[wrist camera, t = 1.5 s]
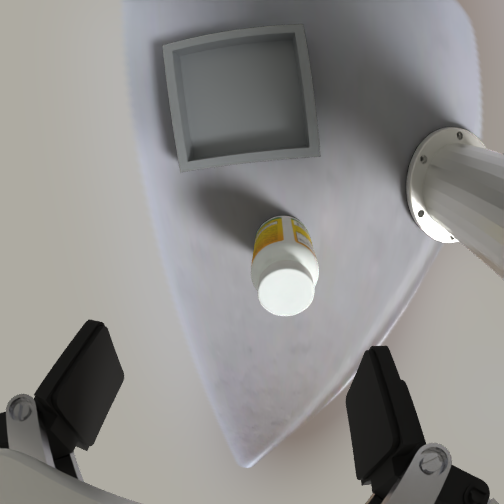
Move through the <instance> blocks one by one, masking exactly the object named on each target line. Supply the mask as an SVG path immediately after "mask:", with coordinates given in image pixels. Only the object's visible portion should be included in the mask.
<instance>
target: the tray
mask: <svg viewBox="0 0 504 504" xmlns="http://www.w3.org/2000/svg"><path fill="white" fill-rule="evenodd" d="M162 47H163V56H164V65H165V74H166V82H167V90H168V97H169V105H170V112H171V119H172V125H173V132H174V138H175V144H176V150H177V156H178V162H179V168H180V173H181V172H187V171H193V170H199V169H206V168H213V167H220V166H227V165H235V164H243V163H251V162H261V161H270V160H281V159H293V158H306V157H320V146H319V135H318V125H317V115H316V106H315V98H314V90H313V82H312V75H311V68H310V61H309V55H308V49H307V43H306V37H305V31H304V26H303V24H291V25H274V26H262V27H253V28H245V29H237V30H230V31H224V32H218V33H213V34H208V35H203V36H198V37H193V38H189V39H185V40H181V41H177V42H173V43H169V44H166V45H162Z"/></svg>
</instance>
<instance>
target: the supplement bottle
mask: <svg viewBox="0 0 504 504" xmlns="http://www.w3.org/2000/svg"><path fill="white" fill-rule="evenodd" d="M318 276H319V267H318V262H317V259H316V255H315V252H314V249H313V245H312V242H311V239H310V235H309V233H308V231H307V229H306V227H305V226H304V225H303V224H302V223H301V222H300V221H299V220H297V219H295V218H293V217H290V216H276V217H273V218H271V219H269V220H267V221H266V222H265V223H263V224H262V225H261V227H260V228H259V230H258V231H257V234H256V238H255V244H254V251H253V259H252V265H251V279H252V282H253V285H254V287H255V288H256V290H257V291H258V298H259V301H260V303H261V305H262V306H263V307H264V308H265V309H266V310H267V311H269V312H270V313H272V314H275V315H279V316H292V315H295V314H298V313H300V312H302V311H303V310H305V309H306V308H307V307H308V306H309V305H310V303H311V302H312V300H313V297H314V287H315V285H316V283H317V280H318Z"/></svg>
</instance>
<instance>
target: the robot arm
mask: <svg viewBox="0 0 504 504" xmlns="http://www.w3.org/2000/svg"><path fill="white" fill-rule="evenodd" d="M420 157H421V160H420ZM406 193H407V202H408V205H409V209H410V212H411V215H412V217H413V219H414V221H415V222H416V224H417V225H418V226H419V228H420V229H421V230H422V231H423V232H425V233H426V234H427V235H428V236H430V237H431V238H433V239H434V240H437V241H439V242H444V243H453V242H458V241H459V242H460V243H461V244H462V245H464V246H465V247H466V248H467V249H469V250H470V251H471V252H472V253H473V254H475V255H476V256H477V257H478V258H479V259H481V260H482V261H483V262H484V263H485V264H486V265H487V266H489V267H490V268H491V269H492V270H493V271H494V272H495V273H496V274H497V275H498V276H500V277H501V278H502V279H503V280H504V154H503V153H500V152H496V151H493V150H489V149H487V148H486V146H485V145H484V144H483V143H482V141H481V140H480V139H479V138H478V137H477V136H475V135H474V134H473V133H471V132H469V131H467V130H465V129H461V128H454V127H447V128H441V129H439V130H436V131H434V132H432V133H431V134H430V135H428V136H427V137H426V138H425V139H424V140H423V141H422V142H421V144H420V145H419V146H418V147H417V149H416V151H415V153H414V155H413V157H412V160H411V162H410V165H409V169H408V174H407V182H406ZM418 211H419V212H418ZM123 380H124V373H123V370H122V367H121V365H120V362H119V360H118V357H117V354H116V352H115V349H114V346H113V343H112V340H111V337H110V334H109V331H108V328H107V327H105V325H104V323H102V322H99V321H94V320H88V321H87V322H86V323H85V324H84V325H83V327H82V328H81V329H80V331H79V332H78V333H77V335H76V336H75V337H74V339H73V340H72V341H71V342H70V344H69V345H68V346H67V348H66V349H65V351H64V352H63V353H62V355H61V356H60V358H59V359H58V360H57V362H56V363H55V364H54V366H53V367H52V369H51V370H50V372H49V373H48V375H47V376H46V377H45V379H44V380H43V382H42V383H41V385H40V386H39V388H38V389H37V391H36V392H35V394H34V395H35V398H34V399H33V398H32V397H31V396H29V395H27V394H19V395H16V396H14V397H13V398H12V399H11V400H10V401H9V402H8V405H7V407H6V412H3V413H0V504H141V503H138V502H135V501H132V500H129V499H126V498H123V497H120V496H117V495H114V494H112V493H109V492H106V491H104V490H101V489H99V488H96V487H94V486H92V485H89V484H87V483H85V482H84V481H83V478H82V475H81V473H80V470H79V467H78V464H77V461H76V458H75V455H74V449H75V446H77V447H79V448H81V449H83V450H86V451H87V450H88V448H89V446H92V445H93V444H94V442H95V440H96V437H97V435H98V433H99V431H100V428H101V427H102V424H103V422H104V420H105V418H106V415H107V414H108V411H109V409H110V407H111V405H112V403H113V401H114V399H115V397H116V395H117V393H118V391H119V389H120V387H121V385H122V383H123ZM346 408H347V414H348V420H349V426H350V432H351V440H352V447H353V454H354V461H355V469H356V476H357V479H358V480H361V483H362V485H369V484H371V486H372V492H373V494H372V495H371V497H370V498H369V499H368V501H367V502H366V503H365V504H499V503H498V502H497V501H496V500H495V499H494V498H493V499H491V500H490V499H489V495H490V492H489V487H488V485H487V484H486V483H485V482H484V481H482V480H481V479H479V478H477V477H475V476H473V475H471V474H469V473H467V472H465V471H462V470H461V469H459V468H457V467H455V466H453V465H451V464H452V460H451V455H450V452H449V451H448V450H447V448H446V447H444V446H443V445H441V444H438V443H429V444H426V442H425V439H424V435H423V432H422V429H421V426H420V423H419V420H418V416H417V413H416V410H415V407H414V404H413V401H412V399H411V396H410V393H409V390H408V387H407V385H406V383H405V382H404V381H403V380H401V379H400V377H399V374H398V371H397V369H396V366H395V363H394V361H393V358H392V355H391V353H390V350H389V348H388V347H387V346H372V347H370V349H369V350H366V351H365V353H364V355H363V358H362V360H361V363H360V365H359V368H358V370H357V373H356V375H355V377H354V380H353V382H352V384H351V387H350V389H349V391H348V393H347V396H346Z"/></svg>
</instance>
